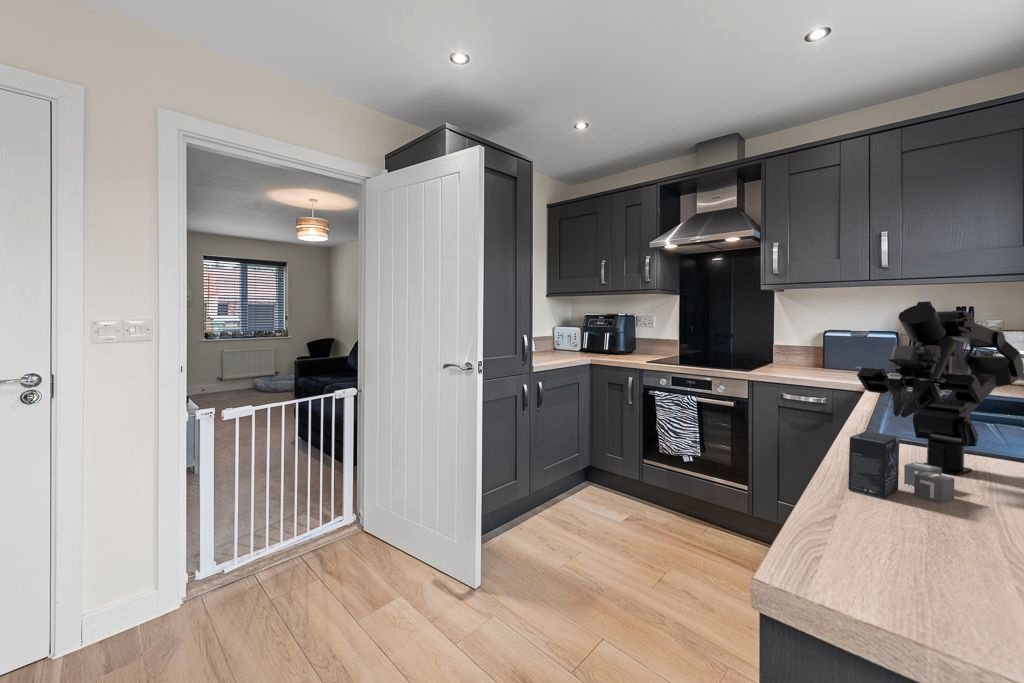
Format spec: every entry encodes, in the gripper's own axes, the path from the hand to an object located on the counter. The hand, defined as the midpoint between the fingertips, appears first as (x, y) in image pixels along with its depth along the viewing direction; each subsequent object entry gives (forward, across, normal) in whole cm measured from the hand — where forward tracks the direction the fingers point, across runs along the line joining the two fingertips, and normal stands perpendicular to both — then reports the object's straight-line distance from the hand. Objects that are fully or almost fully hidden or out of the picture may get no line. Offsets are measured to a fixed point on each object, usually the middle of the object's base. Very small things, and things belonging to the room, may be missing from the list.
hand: (898, 415), depth 87 cm
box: (+16, 0, +4) cm, 16 cm away
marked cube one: (+8, +3, +11) cm, 14 cm away
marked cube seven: (+12, +7, +8) cm, 16 cm away
